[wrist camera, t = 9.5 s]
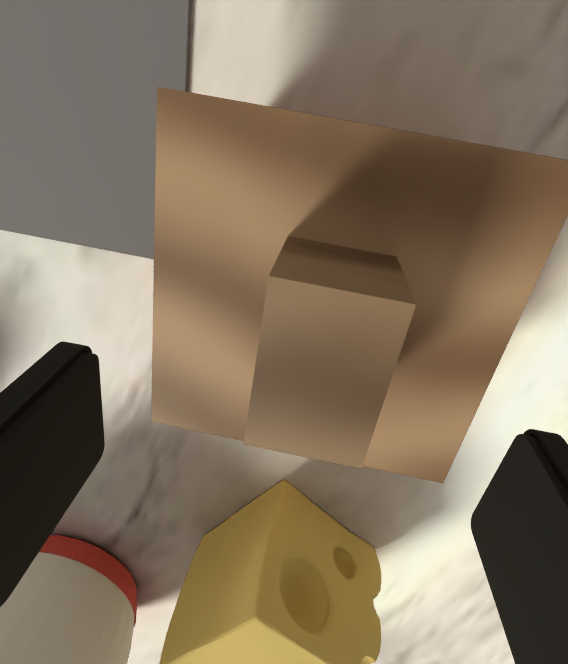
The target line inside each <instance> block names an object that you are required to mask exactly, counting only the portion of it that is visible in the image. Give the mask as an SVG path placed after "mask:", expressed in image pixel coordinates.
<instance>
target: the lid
mask: <svg viewBox="0 0 568 664" xmlns="http://www.w3.org/2000/svg"><path fill="white" fill-rule="evenodd" d="M567 215H568V160H564V159H558V158H553V157H547V156H542V155H536V154H531V153H525V152H519V151H514V150H508V149H503V148H497V147H492V146H486V145H480V144H475V143H469V142H464V141H458V140H452V139H447V138H441V137H436V136H430V135H425V134H419V133H413V132H408V131H402V130H397V129H391V128H386V127H380V126H374V125H369V124H363V123H358V122H352V121H347V120H341V119H335V118H330V117H324V116H319V115H313V114H307V113H302V112H296V111H291V110H285V109H280V108H274V107H268V106H263V105H257V104H252V103H246V102H241V101H235V100H229V99H224V98H218V97H213V96H207V95H201V94H196V93H190V92H185V91H179V90H174V89H168V88H162V87H157V113H156V173H155V233H154V293H153V352H152V412H151V422H156V423H160V424H165V425H170V426H175V427H179V428H184V429H189V430H194V431H198V432H203V433H208V434H213V435H217V436H222V437H227V438H232V439H236V440H241V441H244V444H246V445H251V446H255V447H260V448H265V449H270V450H274V451H279V452H284V453H289V454H293V455H298V456H303V457H307V458H312V459H317V460H322V461H326V462H331V463H336V464H341V465H345V466H350V467H355V468H360V469H362V466H364V467H369V468H374V469H379V470H383V471H388V472H393V473H398V474H402V475H407V476H412V477H417V478H421V479H426V480H431V481H436V482H440V483H443V482H444V480H445V478H446V476H447V474H448V471H449V469H450V467H451V465H452V463H453V461H454V459H455V456H456V454H457V452H458V450H459V448H460V446H461V443H462V441H463V439H464V437H465V435H466V433H467V430H468V428H469V426H470V424H471V422H472V420H473V418H474V415H475V413H476V411H477V409H478V407H479V405H480V402H481V400H482V398H483V396H484V394H485V392H486V390H487V387H488V385H489V383H490V381H491V379H492V377H493V374H494V372H495V370H496V368H497V366H498V364H499V362H500V359H501V357H502V355H503V353H504V351H505V349H506V346H507V344H508V342H509V340H510V338H511V336H512V334H513V331H514V329H515V327H516V325H517V323H518V321H519V318H520V316H521V314H522V312H523V310H524V308H525V305H526V303H527V301H528V299H529V297H530V295H531V293H532V290H533V288H534V286H535V284H536V282H537V280H538V277H539V275H540V273H541V271H542V269H543V267H544V265H545V262H546V260H547V258H548V256H549V254H550V252H551V249H552V247H553V245H554V243H555V241H556V239H557V237H558V234H559V232H560V230H561V228H562V226H563V224H564V221H565V219H566V217H567Z"/></svg>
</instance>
